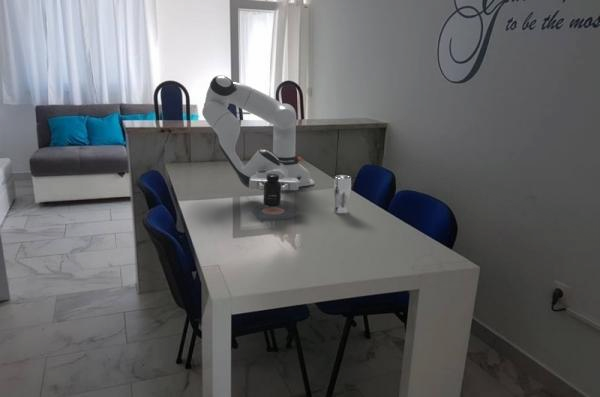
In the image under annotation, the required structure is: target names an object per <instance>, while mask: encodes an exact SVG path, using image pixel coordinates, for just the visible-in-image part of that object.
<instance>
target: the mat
mask: <svg viewBox="0 0 600 397" xmlns="http://www.w3.org/2000/svg"><path fill="white" fill-rule="evenodd" d="M251 211H253V212H252V213H253V214H254V215H255V216H256V218H257V219H258V220H259V219H260V220H261V221H260V220H259V221H260V222H263V221H262V220H269V221H277V220H289V219H296V214H295V213H294V211H292V210H291V209H290V208H288V207H287V206H286V204H282V205H281V204H280V205H278V206H266V205H265V206H256V207H251Z"/></svg>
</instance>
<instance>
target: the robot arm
mask: <svg viewBox="0 0 600 397" xmlns="http://www.w3.org/2000/svg"><path fill="white" fill-rule="evenodd" d="M230 104H232V105H234V106H236V107H237V108H239V109H242V110H243V111H246V112H248V113H250V114H251V115H253V116H256V117H258V118H260V119H262V120H263V121H265V122H267V123H270V124H271V125H273V130H272V131H273V132H272V133H273V134H272V150H269V149H268V148H267V149H266V148H259V149H258V150H257V151H256V152H255V153H254V154H253V155H252V157H251V158H250V159H249V161H248V162H246V164H245V165H244V163H243V161H242V160H241V159H240V157H239V156H238V155H237V153H236V145H237V141H238V138H239V136H240V133H241V124H240V121H239V120H238V118H237V117H236V116H235V115H234V114H233V113H232V112H231V111H230V109H229V108H228V107H229V106H230ZM201 112H202V113H201V114H202V117H203V118H204V120H205V121H206V122H207V124H208V125H209V126H210V127H211V129H213V131H214V132H215V134H216V135H217V137H218V147H219V149H220V151H221V152H222V154H223V156H224V157H225V159H226V160H227V162H228V163H229V164H230V166H231V167H232V169H233V170H234V171H235V174H236V175H237V178H238V179H239V181H240V183H242V185H244V187H246V188H248V189H256V190H257V189H258V190H260V191H264V183H265V182H266V181H267V179H266V178H267V174H277V175H279V180H278V181H279V182H280V183H281V192H285V191H298V190H299V187H307V186H313V185H315V181H314V180H313V179H312V178H311V176H310V172H309V171H308V169H307V168H305V167H304V166H303V165H301V164H300V163H299V162H302V161H303V158H302V157H300V156H297V155H296V141H297V140H296V139H297V138H296V136H297V135H296V132H297V130H296V129H297V128H296V127H297V123H296V122H297V112H296V109H295V108H294V107H293V105H291V104H289V103H282V102H281V101H279V100H277V99H275V98H273V97H271V96H270V95H269V94H266V93H264V92H262V91H260V90H258V89H255V88H253V87H251V86H249V85H246V84H243V83H240V82H236V81H233V80H232V79H230V78H229V77H228V76H225V75H216V76H214V77H213V78H212V79H211V81H210V82H209V87H208V89H207V91H206V95H205V100H204V102H203V108H202V111H201Z"/></svg>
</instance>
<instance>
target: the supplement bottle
mask: <svg viewBox="0 0 600 397" xmlns="http://www.w3.org/2000/svg"><path fill="white" fill-rule="evenodd" d="M266 179H267V181H266V182H265V183H264V190H263V199H262V200H263V205H265V207H266V206H278V205H281V201H282V200H281V199H282V198H281V197H282V194H281V193H282V191H281V183H280V182H279V181H278V180H279V175H277V174H267V178H266Z"/></svg>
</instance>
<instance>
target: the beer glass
mask: <svg viewBox="0 0 600 397" xmlns="http://www.w3.org/2000/svg"><path fill="white" fill-rule="evenodd" d="M351 190H352V177H351V176H350V175H345V174H339V175H338V174H337V175H335V176H334V181H333V196H334V209H333V213H334V214H337V215H347V214H348V213H349V199H350V195H351Z"/></svg>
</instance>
